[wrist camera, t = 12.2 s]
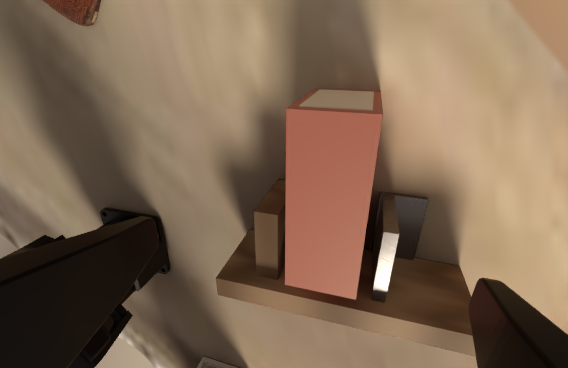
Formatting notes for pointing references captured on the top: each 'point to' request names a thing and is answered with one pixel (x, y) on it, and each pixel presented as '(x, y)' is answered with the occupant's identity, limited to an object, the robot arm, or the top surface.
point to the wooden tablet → (77, 10)
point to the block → (329, 187)
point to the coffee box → (212, 364)
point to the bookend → (394, 236)
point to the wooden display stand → (363, 311)
